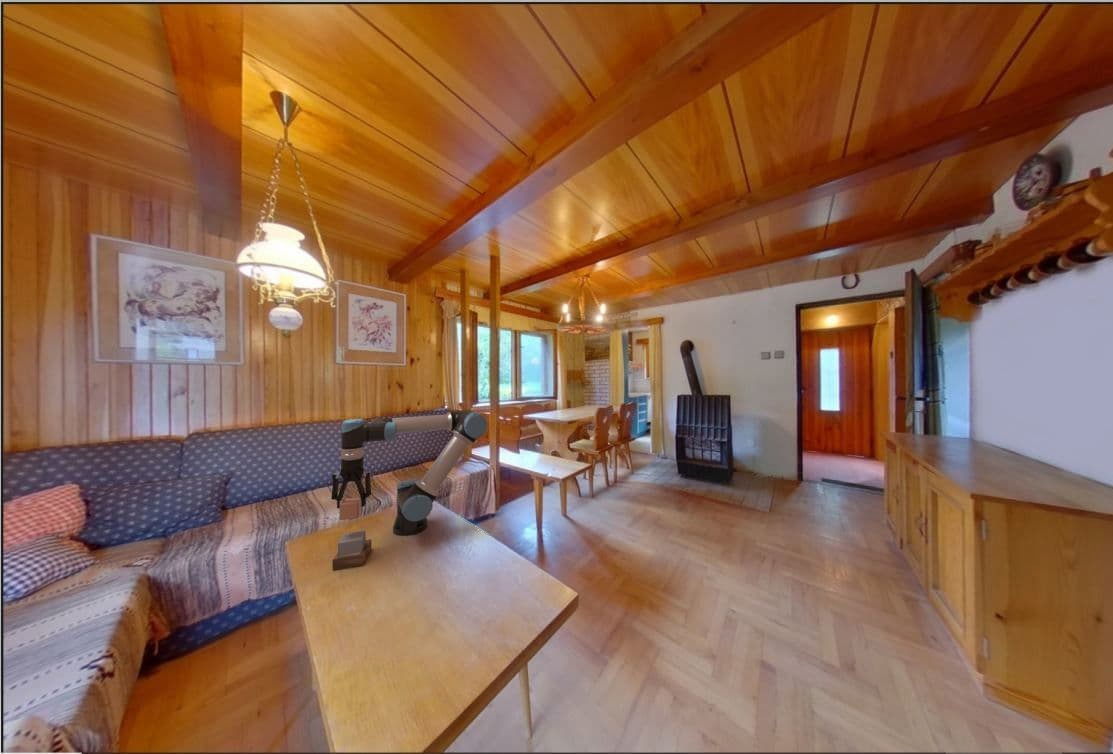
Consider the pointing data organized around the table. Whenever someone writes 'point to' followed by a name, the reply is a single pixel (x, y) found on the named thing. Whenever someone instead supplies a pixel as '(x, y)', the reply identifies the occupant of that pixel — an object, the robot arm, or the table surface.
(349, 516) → the terracotta cube
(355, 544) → the slate block
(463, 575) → the table surface
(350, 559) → the plinth
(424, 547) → the table surface
